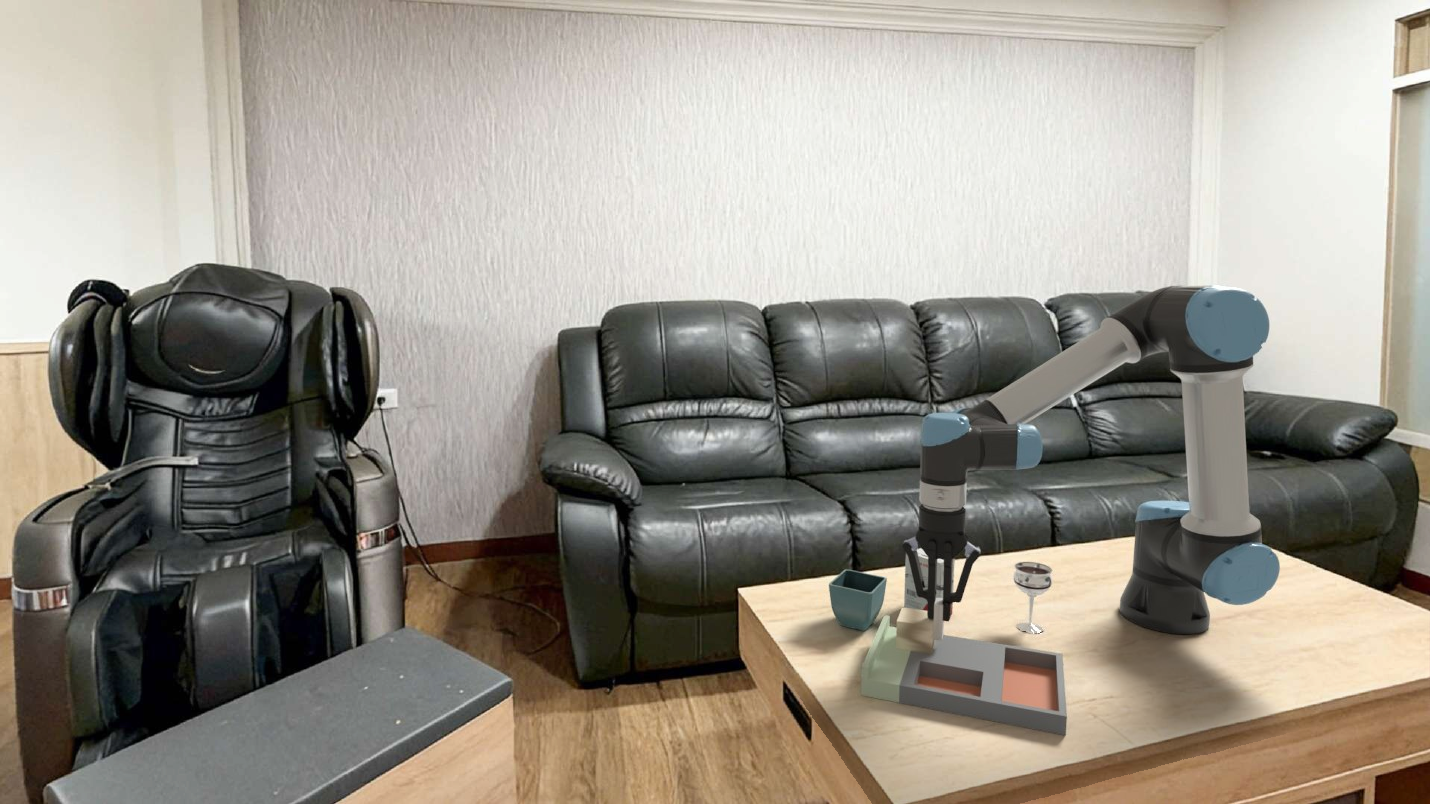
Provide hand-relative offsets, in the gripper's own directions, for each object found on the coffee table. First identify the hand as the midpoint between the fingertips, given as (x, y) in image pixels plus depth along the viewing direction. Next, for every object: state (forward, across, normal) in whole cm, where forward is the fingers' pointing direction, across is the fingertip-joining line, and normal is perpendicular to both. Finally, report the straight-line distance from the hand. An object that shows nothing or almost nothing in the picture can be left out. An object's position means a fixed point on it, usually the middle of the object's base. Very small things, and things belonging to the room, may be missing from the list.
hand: (938, 636), depth 131 cm
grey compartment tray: (+5, +5, -5) cm, 8 cm away
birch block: (+2, -4, 0) cm, 4 cm away
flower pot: (+5, -16, +10) cm, 20 cm away
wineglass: (+5, +15, +20) cm, 25 cm away
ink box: (+5, -4, +21) cm, 22 cm away
